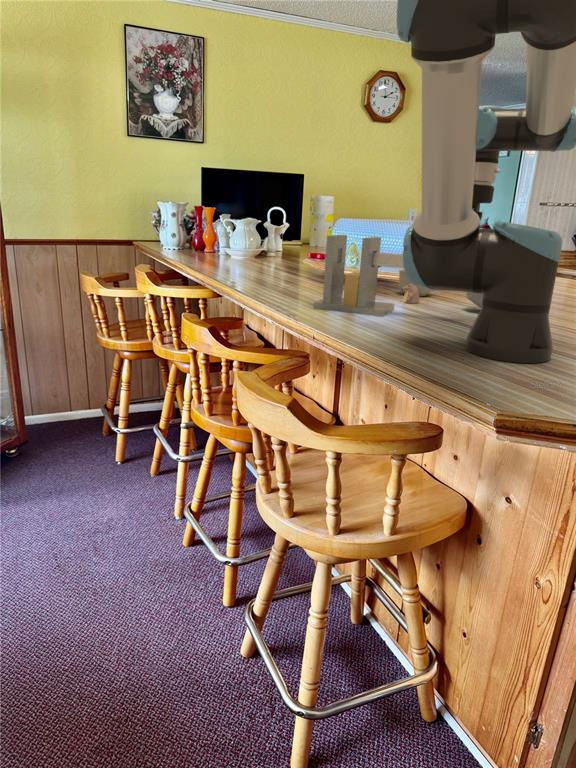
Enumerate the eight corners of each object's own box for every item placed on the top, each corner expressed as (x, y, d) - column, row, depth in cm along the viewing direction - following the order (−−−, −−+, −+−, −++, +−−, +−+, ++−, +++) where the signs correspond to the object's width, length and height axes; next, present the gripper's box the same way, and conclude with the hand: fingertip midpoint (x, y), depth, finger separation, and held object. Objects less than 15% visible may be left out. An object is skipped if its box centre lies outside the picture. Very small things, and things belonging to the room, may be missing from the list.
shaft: (471, 276, 124) (474, 258, 123) (368, 267, 133) (369, 250, 132) (473, 274, 128) (475, 257, 126) (372, 266, 137) (373, 249, 135)
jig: (382, 316, 131) (390, 240, 125) (313, 308, 137) (318, 235, 132) (393, 309, 141) (401, 238, 136) (329, 301, 148) (333, 234, 142)
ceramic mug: (488, 319, 142) (511, 299, 138) (464, 302, 141) (486, 281, 136) (487, 299, 150) (508, 280, 145) (465, 283, 149) (485, 263, 144)
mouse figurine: (430, 305, 151) (434, 281, 149) (402, 304, 151) (405, 279, 149) (426, 302, 156) (428, 278, 154) (398, 301, 156) (401, 277, 154)
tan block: (356, 305, 135) (359, 276, 133) (342, 304, 136) (345, 274, 134) (364, 301, 142) (367, 273, 139) (351, 300, 143) (354, 271, 141)
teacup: (426, 299, 160) (430, 272, 158) (391, 295, 165) (394, 268, 163) (439, 294, 172) (442, 268, 169) (406, 290, 177) (409, 265, 174)
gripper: (492, 182, 112) (475, 295, 119) (496, 186, 127) (480, 286, 134) (455, 181, 114) (440, 292, 122) (463, 185, 129) (449, 283, 137)
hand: (461, 289), depth 128 cm, fingers closed on shaft, 4 cm apart
